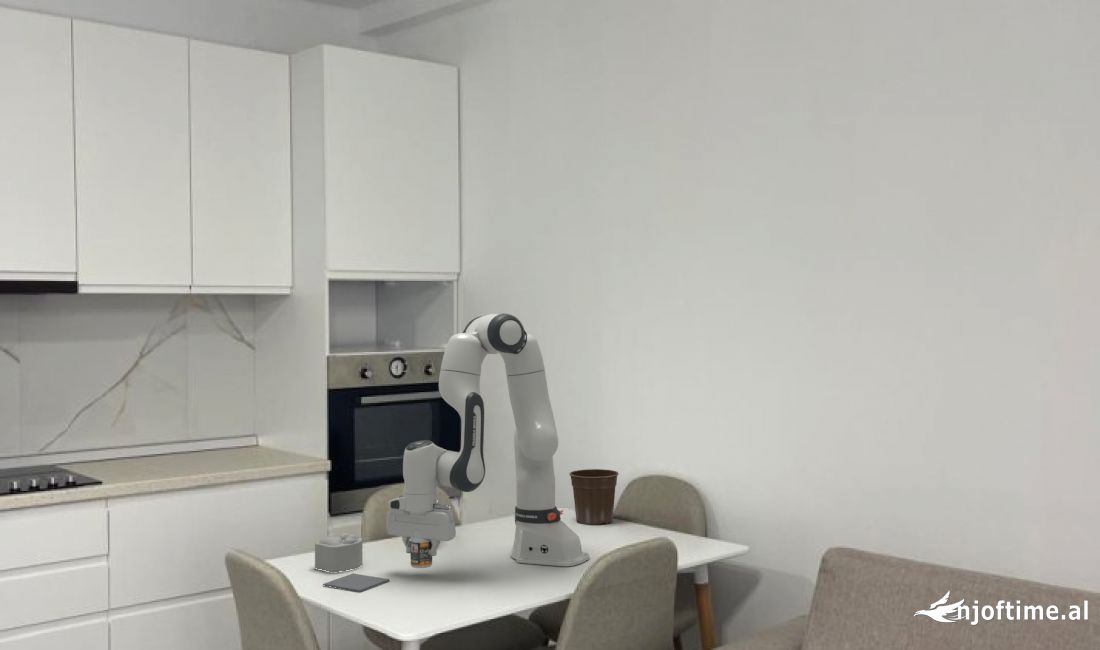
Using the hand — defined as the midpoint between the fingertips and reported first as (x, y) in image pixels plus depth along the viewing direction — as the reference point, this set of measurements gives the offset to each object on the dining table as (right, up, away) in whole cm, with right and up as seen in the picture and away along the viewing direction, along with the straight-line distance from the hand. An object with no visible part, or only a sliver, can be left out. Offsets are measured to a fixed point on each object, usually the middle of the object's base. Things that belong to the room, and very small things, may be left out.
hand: (421, 554), depth 287 cm
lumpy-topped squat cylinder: (-23, -6, +9) cm, 25 cm away
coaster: (-16, -6, -9) cm, 19 cm away
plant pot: (+49, -4, +69) cm, 85 cm away
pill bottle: (0, -3, 0) cm, 3 cm away
